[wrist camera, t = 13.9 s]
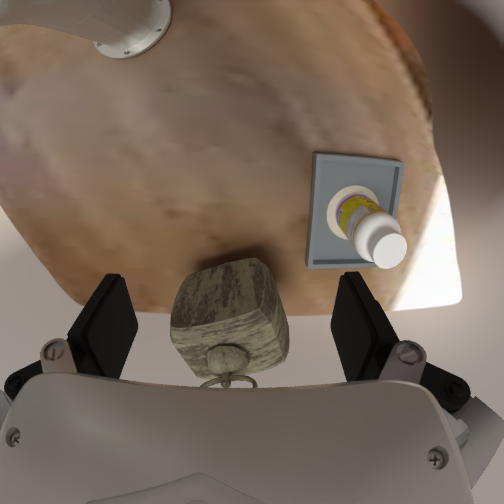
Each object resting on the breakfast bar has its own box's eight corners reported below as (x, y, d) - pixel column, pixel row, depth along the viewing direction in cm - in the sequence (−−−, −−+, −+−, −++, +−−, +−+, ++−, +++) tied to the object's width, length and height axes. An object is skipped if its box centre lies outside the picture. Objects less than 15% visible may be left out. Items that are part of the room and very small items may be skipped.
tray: (313, 151, 37) (316, 154, 35) (397, 159, 37) (404, 162, 36) (305, 261, 46) (307, 269, 44) (380, 260, 46) (385, 266, 44)
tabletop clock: (203, 303, 50) (181, 428, 28) (182, 262, 46) (139, 389, 24) (281, 283, 48) (302, 413, 26) (266, 237, 44) (284, 368, 22)
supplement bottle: (380, 213, 41) (421, 251, 30) (350, 240, 43) (382, 285, 32) (357, 183, 39) (398, 214, 27) (325, 211, 41) (355, 253, 29)
